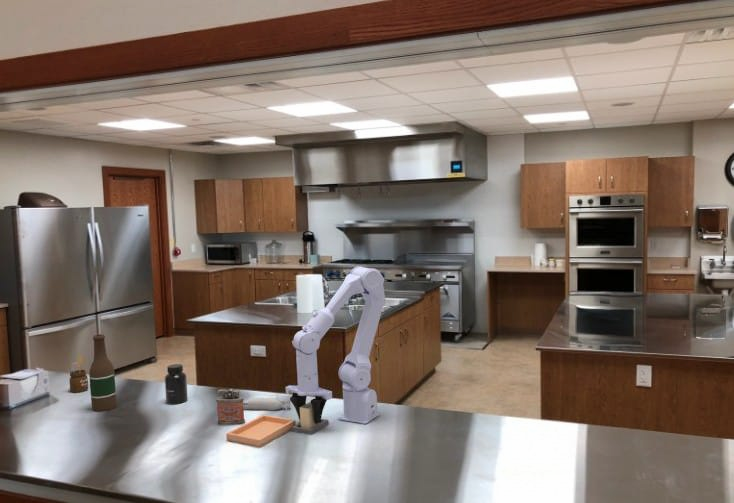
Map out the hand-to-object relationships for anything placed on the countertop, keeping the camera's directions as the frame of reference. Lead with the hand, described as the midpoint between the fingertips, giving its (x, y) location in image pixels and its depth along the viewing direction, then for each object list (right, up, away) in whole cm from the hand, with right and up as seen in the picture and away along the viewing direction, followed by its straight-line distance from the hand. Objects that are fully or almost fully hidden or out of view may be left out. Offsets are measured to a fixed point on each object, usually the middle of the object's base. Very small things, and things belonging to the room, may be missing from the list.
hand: (310, 421), depth 166 cm
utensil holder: (-87, -3, +46) cm, 99 cm away
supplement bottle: (-47, -2, +29) cm, 55 cm away
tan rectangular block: (0, -2, 0) cm, 2 cm away
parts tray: (-13, -3, -3) cm, 14 cm away
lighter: (-24, -3, +7) cm, 25 cm away
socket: (0, -2, 0) cm, 2 cm away
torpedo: (-17, -2, +18) cm, 24 cm away
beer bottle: (-69, -3, +26) cm, 74 cm away
